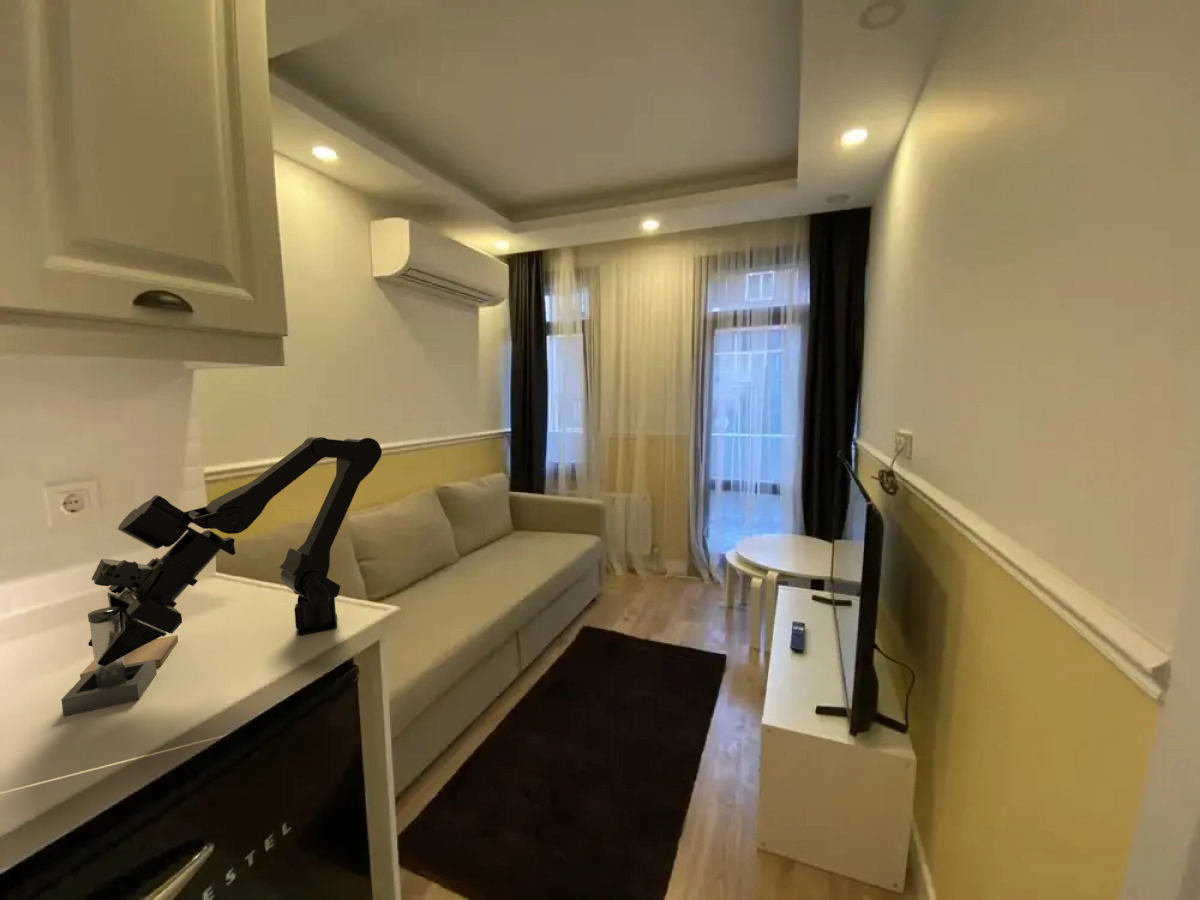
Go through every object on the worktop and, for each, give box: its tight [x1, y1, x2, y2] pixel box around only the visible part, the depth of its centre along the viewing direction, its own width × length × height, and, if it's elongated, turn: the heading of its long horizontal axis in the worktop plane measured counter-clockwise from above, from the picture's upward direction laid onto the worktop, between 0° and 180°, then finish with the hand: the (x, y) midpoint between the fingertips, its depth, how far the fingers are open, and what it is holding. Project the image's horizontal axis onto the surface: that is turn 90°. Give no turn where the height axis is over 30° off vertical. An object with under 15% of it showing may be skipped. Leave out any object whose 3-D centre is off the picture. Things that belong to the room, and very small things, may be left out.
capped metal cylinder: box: [87, 606, 132, 689], centre depth 77 cm, size 5×5×13 cm
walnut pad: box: [79, 634, 179, 679], centre depth 87 cm, size 10×10×1 cm
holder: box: [60, 659, 157, 717], centre depth 77 cm, size 8×8×2 cm
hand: (95, 655), depth 75 cm, fingers open, 9 cm apart
